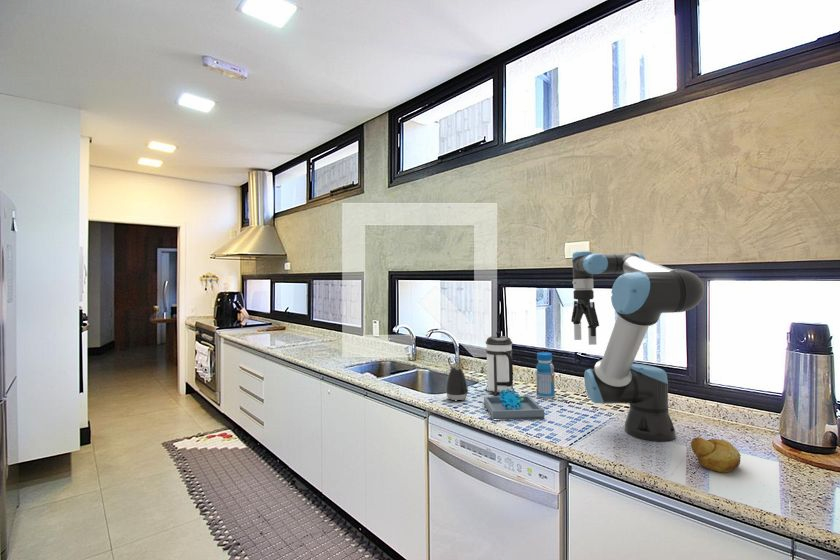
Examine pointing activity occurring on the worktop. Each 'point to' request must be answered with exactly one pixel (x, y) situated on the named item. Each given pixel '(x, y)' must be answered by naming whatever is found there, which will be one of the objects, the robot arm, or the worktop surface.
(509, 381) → the coffee press
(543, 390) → the beverage bottle
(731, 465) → the bread roll
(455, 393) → the pump dispenser
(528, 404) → the tray
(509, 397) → the gear
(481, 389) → the worktop surface
